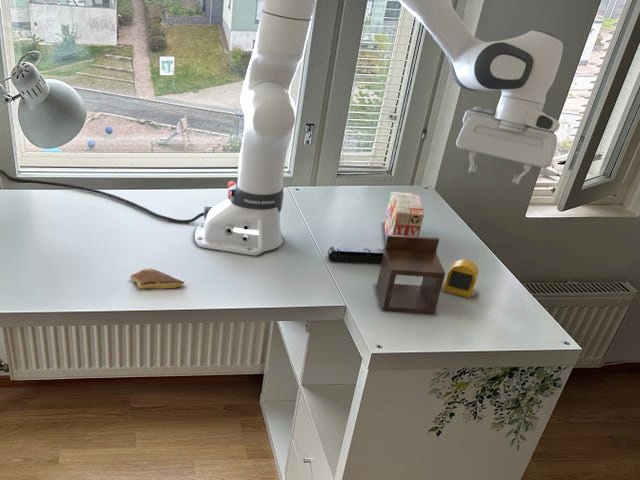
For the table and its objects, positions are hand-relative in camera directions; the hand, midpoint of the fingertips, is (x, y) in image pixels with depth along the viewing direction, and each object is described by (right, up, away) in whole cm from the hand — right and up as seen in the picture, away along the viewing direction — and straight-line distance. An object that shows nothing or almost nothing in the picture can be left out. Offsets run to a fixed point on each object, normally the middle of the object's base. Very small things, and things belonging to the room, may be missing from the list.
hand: (492, 178), depth 155 cm
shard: (-76, -23, +4) cm, 79 cm away
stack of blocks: (-14, -10, +25) cm, 30 cm away
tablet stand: (-25, -17, +15) cm, 33 cm away
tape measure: (-7, -25, +3) cm, 26 cm away
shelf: (-20, -27, -1) cm, 34 cm away
